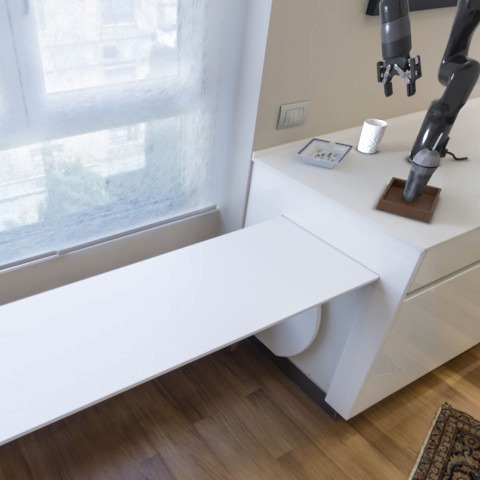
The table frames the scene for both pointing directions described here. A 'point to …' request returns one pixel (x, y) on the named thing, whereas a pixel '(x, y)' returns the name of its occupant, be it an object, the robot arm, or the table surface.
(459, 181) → the table surface
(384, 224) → the table surface
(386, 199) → the tray
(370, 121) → the white cup
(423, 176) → the beverage cup
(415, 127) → the table surface
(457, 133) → the table surface
